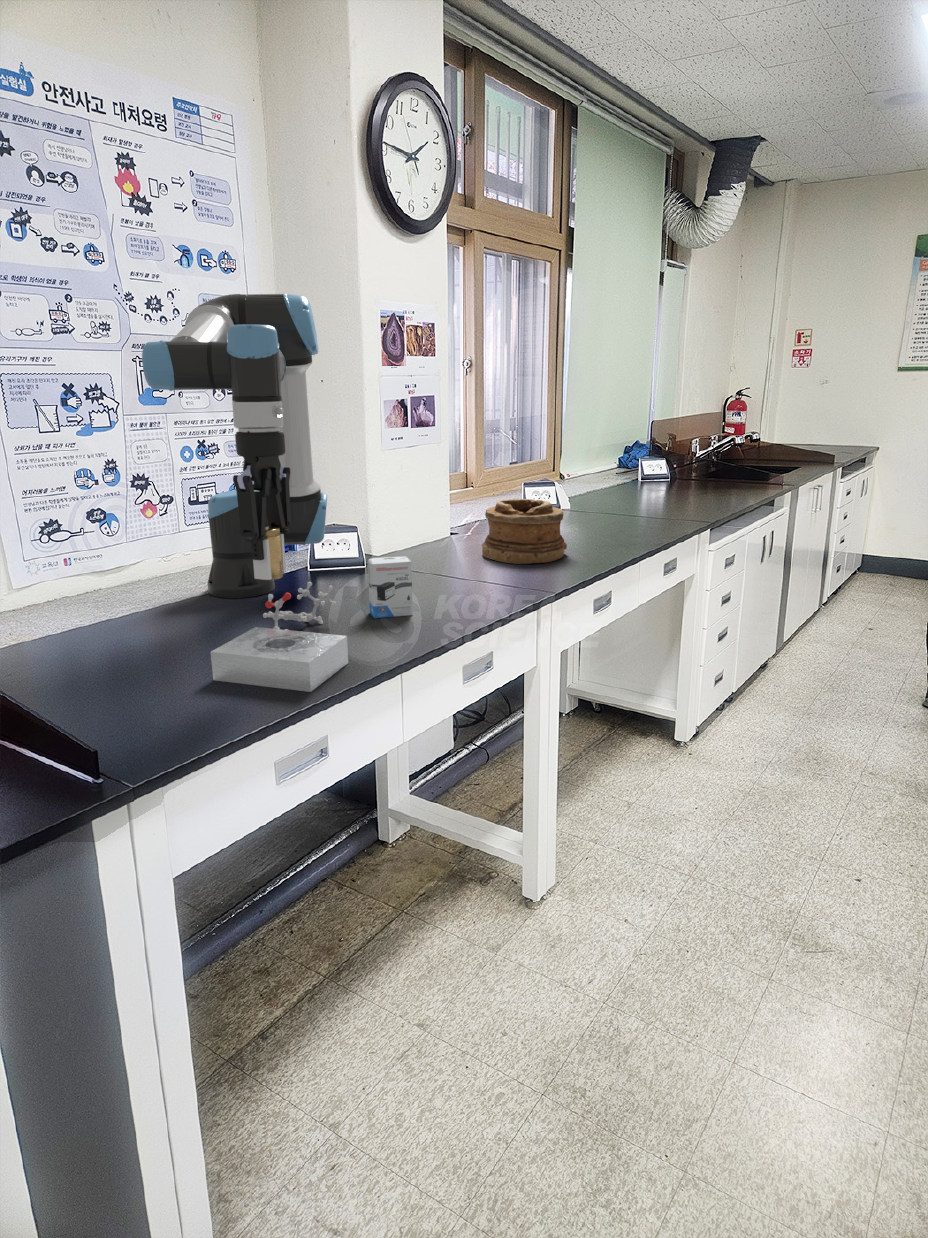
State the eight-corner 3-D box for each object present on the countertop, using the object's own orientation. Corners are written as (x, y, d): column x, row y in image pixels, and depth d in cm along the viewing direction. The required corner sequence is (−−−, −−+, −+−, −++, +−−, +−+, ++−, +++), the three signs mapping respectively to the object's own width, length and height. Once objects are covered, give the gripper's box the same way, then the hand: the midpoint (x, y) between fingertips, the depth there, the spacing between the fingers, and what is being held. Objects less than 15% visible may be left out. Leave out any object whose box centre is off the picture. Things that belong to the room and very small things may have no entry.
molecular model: (308, 616, 169) (309, 570, 166) (345, 626, 164) (347, 579, 161) (238, 637, 154) (237, 586, 151) (277, 649, 149) (277, 597, 146)
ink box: (373, 618, 166) (371, 563, 163) (369, 612, 171) (367, 558, 167) (413, 615, 168) (412, 560, 165) (408, 609, 173) (407, 555, 169)
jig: (213, 680, 133) (210, 651, 132) (257, 653, 146) (255, 626, 145) (311, 692, 128) (309, 662, 127) (348, 662, 141) (346, 635, 140)
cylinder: (253, 578, 131) (249, 530, 129) (266, 573, 135) (262, 526, 132) (274, 580, 130) (271, 531, 127) (287, 575, 133) (284, 527, 131)
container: (564, 566, 211) (566, 509, 206) (475, 563, 214) (475, 507, 210) (567, 548, 232) (569, 496, 228) (486, 546, 235) (486, 495, 231)
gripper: (250, 433, 116) (263, 589, 123) (307, 426, 132) (315, 565, 139) (206, 432, 119) (220, 586, 125) (267, 426, 134) (277, 562, 141)
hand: (270, 575), depth 132 cm, fingers closed on cylinder, 4 cm apart
